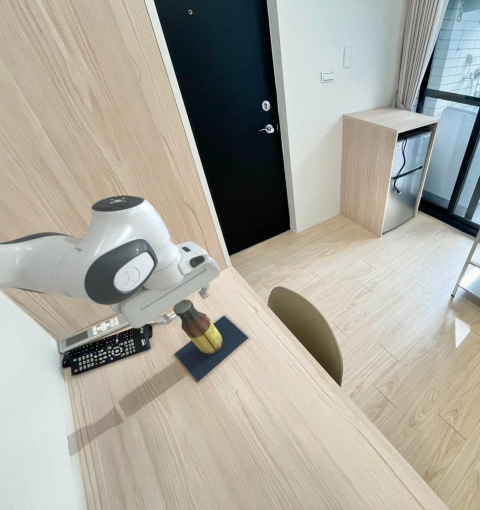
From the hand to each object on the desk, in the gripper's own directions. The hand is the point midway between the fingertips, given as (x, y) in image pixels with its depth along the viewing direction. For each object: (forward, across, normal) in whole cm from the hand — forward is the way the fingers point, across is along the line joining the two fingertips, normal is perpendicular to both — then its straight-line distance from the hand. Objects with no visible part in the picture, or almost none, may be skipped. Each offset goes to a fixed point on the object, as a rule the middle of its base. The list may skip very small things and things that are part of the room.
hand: (187, 308), depth 64 cm
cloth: (+18, 0, 0) cm, 18 cm away
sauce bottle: (+18, 0, 0) cm, 18 cm away
